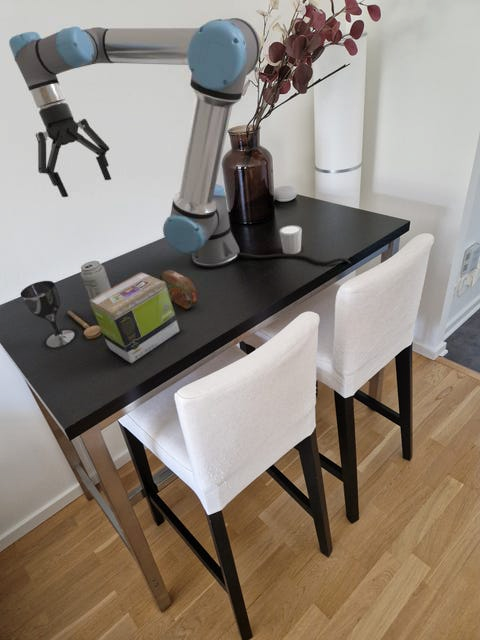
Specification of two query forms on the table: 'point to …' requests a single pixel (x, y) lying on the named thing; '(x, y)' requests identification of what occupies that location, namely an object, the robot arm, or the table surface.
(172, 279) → the tin
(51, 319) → the wine glass
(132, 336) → the tea box
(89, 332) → the wooden spoon
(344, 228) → the table surface
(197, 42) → the robot arm
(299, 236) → the shot glass
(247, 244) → the table surface
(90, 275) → the energy drink can
